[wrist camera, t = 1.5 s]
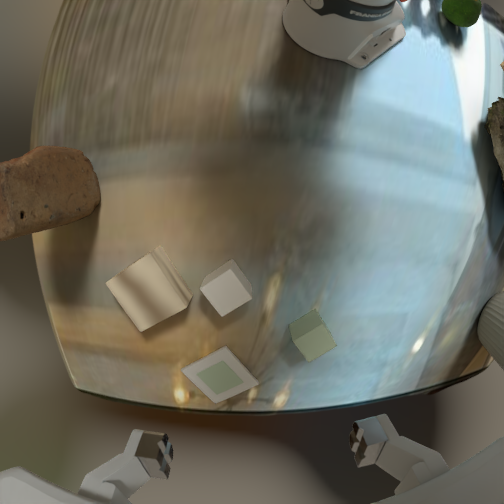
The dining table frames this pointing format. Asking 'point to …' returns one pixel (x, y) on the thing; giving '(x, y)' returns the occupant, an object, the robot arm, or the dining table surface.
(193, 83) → the dining table surface
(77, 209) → the block
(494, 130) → the hollow geode rock
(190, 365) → the card
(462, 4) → the avocado
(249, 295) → the offwhite cube
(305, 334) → the sage cube
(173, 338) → the dining table surface
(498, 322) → the canister
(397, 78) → the dining table surface
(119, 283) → the base block
